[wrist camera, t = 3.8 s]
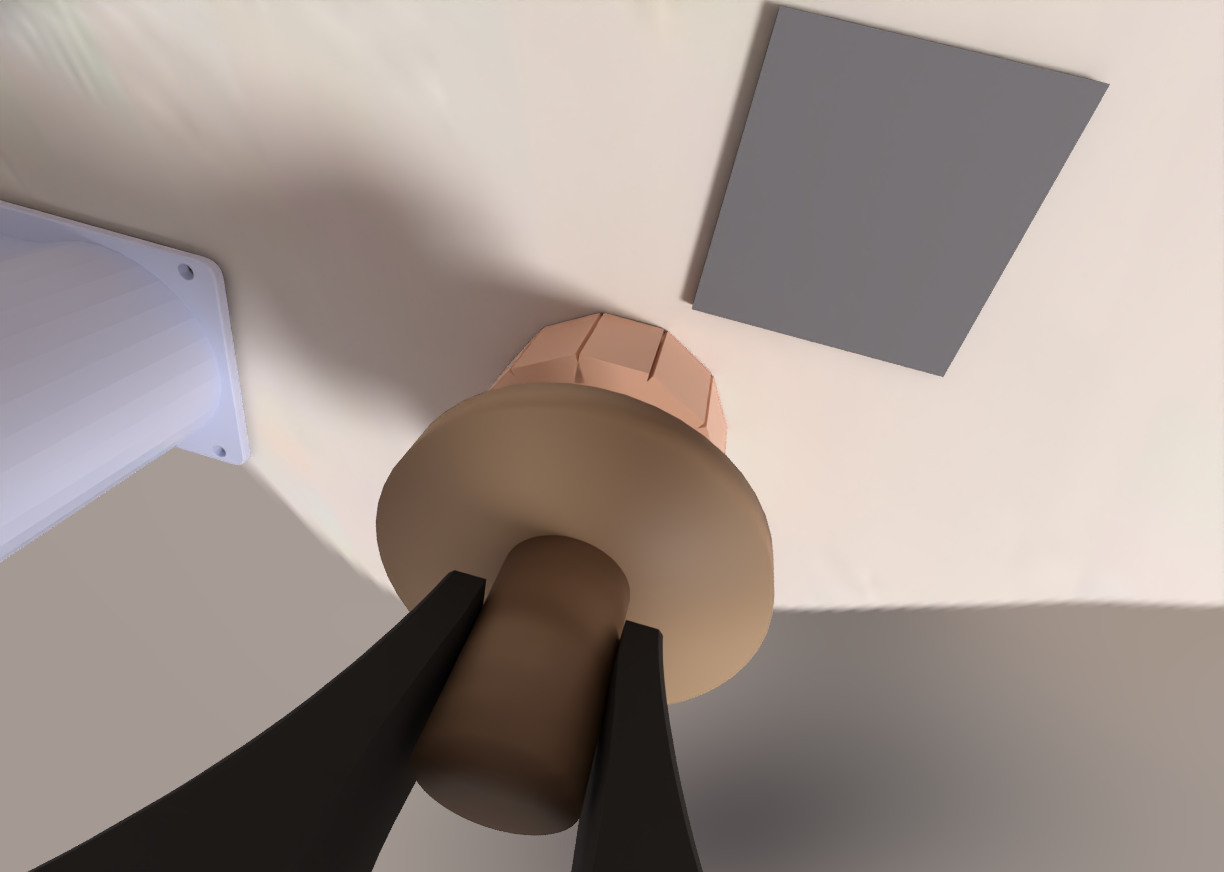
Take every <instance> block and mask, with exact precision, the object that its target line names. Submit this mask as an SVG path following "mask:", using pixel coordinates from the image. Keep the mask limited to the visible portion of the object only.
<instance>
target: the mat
mask: <svg viewBox="0 0 1224 872" xmlns="http://www.w3.org/2000/svg"><path fill="white" fill-rule="evenodd" d="M1109 85H1110V84H1107V83H1103V82H1099V81H1095V80H1090V79H1086V78H1082V77H1078V76H1074V75H1069V74H1065V73H1061V72H1057V71H1053V70H1048V69H1044V68H1040V67H1036V66H1032V65H1027V64H1023V63H1019V62H1015V61H1011V60H1007V59H1002V58H998V57H994V56H990V55H986V54H981V53H977V52H973V51H969V50H965V49H960V48H956V47H952V46H948V45H944V44H940V43H935V42H931V41H927V40H923V39H919V38H914V37H910V36H906V35H902V34H898V33H893V32H889V31H885V30H881V29H877V28H873V27H868V26H864V25H860V24H856V23H852V22H847V21H843V20H839V19H835V18H831V17H826V16H822V15H818V14H814V13H810V12H805V11H801V10H797V9H793V8H789V7H785V6H780V7H779V11H778V14H777V18H776V21H775V25H774V28H773V32H772V35H771V38H770V42H769V45H768V49H767V52H766V56H765V59H764V62H763V66H762V69H761V73H760V76H759V80H758V83H757V86H756V90H755V93H754V97H753V100H752V104H751V107H750V111H749V114H748V117H747V121H746V124H745V128H744V131H743V135H742V138H741V141H740V145H739V148H738V152H737V155H736V159H735V162H734V165H733V169H732V172H731V176H730V179H729V183H728V186H727V190H726V193H725V196H724V200H723V203H722V207H721V210H720V214H719V217H718V220H717V224H716V227H715V231H714V234H713V238H712V241H711V244H710V248H709V251H708V255H707V258H706V262H705V265H704V269H703V272H702V275H701V279H700V282H699V286H698V289H697V293H696V296H695V299H694V303H693V306H692V309H693V310H697V311H701V312H704V313H708V314H712V315H715V316H719V317H723V318H727V319H730V320H734V321H738V322H741V323H745V324H749V325H753V326H756V327H760V328H764V329H767V330H771V331H775V332H779V333H782V334H786V335H790V336H793V337H797V338H801V339H804V340H808V341H812V342H816V343H819V344H823V345H827V346H830V347H834V348H838V349H842V350H845V351H849V352H853V353H856V354H860V355H864V356H867V357H871V358H875V359H879V360H882V361H886V362H890V363H893V364H897V365H901V366H905V367H908V368H912V369H916V370H919V371H923V372H927V373H930V374H934V375H938V376H942V377H943V376H944V375H945V373H946V371H947V369H948V368H949V366H950V364H951V362H952V361H953V359H954V357H955V355H956V354H957V352H958V350H959V348H960V347H961V345H962V343H963V341H964V340H965V338H966V336H967V334H968V333H969V331H970V329H971V327H972V326H973V324H974V322H975V320H976V319H977V317H978V315H979V313H980V312H981V310H982V308H983V306H984V304H985V303H986V301H987V299H988V297H989V296H990V294H991V292H992V290H993V289H994V287H995V285H996V283H997V282H998V280H999V278H1000V276H1001V275H1002V273H1003V271H1004V269H1005V268H1006V266H1007V264H1008V262H1009V261H1010V259H1011V257H1012V255H1013V254H1014V252H1015V250H1016V248H1017V247H1018V245H1019V243H1020V241H1021V240H1022V238H1023V236H1024V234H1025V232H1026V231H1027V229H1028V227H1029V225H1030V224H1031V222H1032V220H1033V218H1034V217H1035V215H1036V213H1037V211H1038V210H1039V208H1040V206H1041V204H1042V203H1043V201H1044V199H1045V197H1046V196H1047V194H1048V192H1049V190H1050V189H1051V187H1052V185H1053V183H1054V182H1055V180H1056V178H1057V176H1058V175H1059V173H1060V171H1061V169H1062V168H1063V166H1064V164H1065V162H1066V161H1067V159H1068V157H1069V155H1070V153H1071V152H1072V150H1073V148H1074V146H1075V145H1076V143H1077V141H1078V139H1079V138H1080V136H1081V134H1082V132H1083V131H1084V129H1085V127H1086V125H1087V124H1088V122H1089V120H1090V118H1091V117H1092V115H1093V113H1094V111H1095V110H1096V108H1097V106H1098V104H1099V103H1100V101H1101V99H1102V97H1103V96H1104V94H1105V92H1106V90H1107V89H1108V87H1109Z"/></svg>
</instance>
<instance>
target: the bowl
mask: <svg viewBox="0 0 1224 872" xmlns="http://www.w3.org/2000/svg"><path fill="white" fill-rule="evenodd" d="M663 332H664V329H662V328H658V327H655V326H651V325H647V324H644V323H640V322H636V321H633V320H629V319H625V318H622V317H618V316H614V315H611V314H607V313H604V314H603V316H601V314H600V313H597V314H593V315H589V316H585V317H581V318H577V319H573V320H569V321H566V322H562V323H558V324H554V325H550V326H546V327H544V328H543V330H542V329H541V330H540V331H539V332H538V333H537V334H536V335H535V336H534V337H533V339H532V340H531V341H530V342H529V343H528V344H527V345H526V346H525V347H524V348H523V350H522V351H521V352H520V353H519V354H518V355H517V356H516V357H515V358H514V360H513V361H512V362H511V363H510V364H509V365H508V366H507V367H506V369H505V370H504V371H503V372H502V374H501V375H500V376H499V377H498V379H497V380H496V381H495V382H494V383H493V385H492V386H491V387H490V388H489V390H494V389H498V388H502V387H506V386H510V385H517V384H527V383H537V382H550V383H572V384H579V385H586V386H593V387H599V388H602V389H606V390H610V391H614V392H618V393H621V394H625V395H628V396H631V397H633V398H636V399H638V400H641V401H643V402H646V403H649V404H651V405H654V406H656V407H658V408H660V409H661V410H663V411H665V412H667V413H669V414H671V415H673V416H675V417H677V418H679V419H680V420H682V421H683V422H685V423H686V424H688V425H689V426H691V427H692V428H694V429H695V430H697V431H698V432H699V433H701V434H702V435H704V436H705V437H706V438H707V439H708V440H710V441H711V442H712V443H713V444H714V445H715V446H716V447H718V448H719V449H720V450H721V451H722V452H723V453H724V454H725V449H726V436H727V426H726V422H725V418H724V414H723V411H722V407H721V403H720V399H719V396H718V392H717V388H716V384H715V380H714V377H713V376H711V372H710V371H709V370H708V369H707V368H706V367H705V366H704V365H703V364H702V363H701V362H700V361H699V360H698V359H696V358H695V357H694V356H693V355H692V354H691V353H690V352H689V351H688V350H687V349H686V348H685V347H684V346H683V345H682V344H681V343H680V342H679V341H678V340H677V339H676V338H675V337H673V336H672V335H671V334H670V333H669V332H667V333H663ZM489 390H488V391H489Z"/></svg>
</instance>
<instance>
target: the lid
mask: <svg viewBox="0 0 1224 872" xmlns="http://www.w3.org/2000/svg"><path fill="white" fill-rule="evenodd" d="M376 533H377V543H378V547H379V552H380V556H381V560H382V563H383V565H384V568H385V570H386V573H387V576H388V578H389V580H390V582H391V583H392V585H393V587H394V589H395V591H396V593H397V594H398V596H399V597H400V599H401V600H402V602H403V603H404V605H405V606H406V607H407V609H408V610H409V611H411V610H412V609H414V608H415V607H416V606H417V605H418V604H419V603H420V602H421V601H422V600H423V599H424V598H425V597H426V596H427V595H428V594H429V593H430V592H431V591H432V590H433V589H434V588H435V587H436V586H437V584H438V583H439V582H440V581H441V580H442V579H443V578H444V577H445V576H446V575H447V574H448V573H449V572H451V571H454V570H456V571H460V572H463V573H467V574H470V575H474V576H477V577H481V578H484V579H486V586H485V595H484V604H483V606H482V608H481V610H480V613H479V615H478V617H477V619H476V621H475V623H474V625H473V627H472V629H471V631H470V633H469V635H468V637H467V640H466V642H465V644H464V646H463V648H462V650H461V652H460V654H459V656H458V658H457V660H456V662H455V664H454V667H453V669H452V671H451V673H450V675H449V677H448V679H447V681H446V683H445V685H444V687H443V689H442V691H441V694H440V696H439V698H438V700H437V702H436V704H435V706H434V708H433V710H432V712H431V714H430V716H429V718H428V721H427V723H426V725H425V727H424V729H423V731H422V733H421V735H420V737H419V739H418V741H417V743H416V745H415V747H414V750H413V752H412V754H411V758H410V767H411V771H412V773H413V775H414V778H415V779H416V781H417V782H418V784H419V785H420V786H421V787H422V788H423V789H424V791H426V793H428V794H429V796H431V797H432V798H433V799H434V800H436V801H437V802H438V803H440V804H441V805H442V806H444V807H445V808H447V809H449V810H450V811H452V812H454V813H455V814H457V815H459V816H461V817H463V818H466V819H467V820H470V821H472V822H474V823H477V824H480V825H483V826H485V827H488V828H492V829H495V830H499V831H504V832H508V833H514V834H522V835H548V834H554V833H558V832H561V831H564V830H567V829H568V828H570V827H572V826H573V825H574V824H575V823H576V822H577V821H578V819H579V818H580V815H581V812H582V808H583V803H584V799H585V795H586V790H587V786H588V781H589V777H590V773H591V768H592V764H593V759H594V755H595V751H596V746H597V742H598V737H599V733H600V729H601V724H602V720H603V715H604V710H605V705H606V699H607V694H608V688H609V684H610V679H611V675H612V671H613V666H614V662H615V658H616V653H617V649H618V644H619V640H620V637H621V634H622V630H623V627H624V624H625V621H626V620H629V621H632V622H636V623H639V624H642V625H646V626H649V627H653V628H656V629H659V630H660V632H661V633H662V635H663V666H664V679H665V689H666V698H667V705H669V704H673V703H678V702H682V701H684V700H687V699H691V698H693V697H696V696H699V695H701V694H704V693H706V692H708V691H710V690H712V689H714V688H716V687H718V686H719V685H721V684H722V683H724V682H725V681H727V680H728V679H730V678H731V677H733V676H734V675H735V674H736V673H737V672H738V671H740V670H741V669H742V668H743V667H744V666H745V665H746V664H747V663H748V662H749V661H750V659H751V658H752V657H753V655H754V654H755V653H756V652H757V650H758V649H759V647H760V645H761V643H762V641H763V639H764V638H765V636H766V634H767V631H768V628H769V624H770V621H771V618H772V614H773V603H774V567H773V549H772V539H771V534H770V530H769V526H768V523H767V519H766V515H765V513H764V511H763V509H762V507H761V505H760V502H759V500H758V498H757V496H756V494H755V492H754V491H753V489H752V488H751V486H750V485H749V483H748V482H747V480H746V479H745V477H744V476H743V474H742V473H741V472H740V471H739V470H738V468H737V467H736V466H735V465H734V464H733V463H732V462H731V460H730V459H729V458H728V457H727V456H726V455H725V454H724V453H723V452H722V451H721V450H720V449H719V448H718V447H716V446H715V445H714V444H713V443H712V442H711V441H710V440H708V439H707V438H706V437H705V436H704V435H702V434H701V433H699V432H698V431H697V430H695V429H694V428H692V427H691V426H689V425H688V424H686V423H685V422H683V421H682V420H680V419H679V418H677V417H675V416H673V415H671V414H669V413H667V412H665V411H663V410H661V409H660V408H658V407H656V406H654V405H651V404H649V403H646V402H643V401H641V400H638V399H636V398H633V397H631V396H628V395H625V394H621V393H618V392H614V391H610V390H606V389H602V388H599V387H593V386H586V385H579V384H572V383H550V382H537V383H527V384H517V385H510V386H506V387H502V388H498V389H494V390H489V391H486V392H484V393H481V394H479V395H476V396H474V397H471V398H468V399H466V400H464V401H462V402H461V403H459V404H457V405H456V406H454V407H452V408H450V409H449V410H447V411H446V412H444V413H443V414H442V415H441V416H440V417H439V418H437V419H436V420H435V421H434V422H433V423H431V424H430V425H429V427H428V428H427V429H426V430H425V431H424V432H423V434H422V435H421V436H420V437H419V438H418V440H417V441H416V442H415V443H414V444H413V446H412V447H411V448H410V449H409V450H408V452H407V453H406V454H405V455H404V456H403V458H402V459H401V460H400V461H399V462H398V463H397V465H396V466H395V467H394V468H393V470H392V472H391V473H390V475H389V477H388V479H387V481H386V483H385V484H384V487H383V490H382V493H381V496H380V499H379V502H378V508H377V517H376Z"/></svg>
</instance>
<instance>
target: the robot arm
mask: <svg viewBox="0 0 1224 872" xmlns="http://www.w3.org/2000/svg"><path fill="white" fill-rule="evenodd" d="M188 266H189V267H190V268H191V269H192V271H193V274H194V275H193V274H192V273H191V272H190V271H189V268H188ZM173 447H177V448H181V449H184V450H187V451H191V452H194V453H198V454H201V455H204V456H208V457H211V458H214V459H218V460H221V461H224V462H228V463H232V464H235V465H241V464H243V463H244V462H246V461H247V460H248V459H249V458H250V447H249V441H248V434H247V428H246V421H245V415H244V408H243V402H242V395H241V389H240V382H239V376H238V369H237V363H236V356H235V350H234V343H233V337H232V330H231V324H230V317H229V311H228V304H227V298H226V291H225V285H224V278H223V274H222V271H221V269H220V268H219V266H218V265H217V264H216V263H215V262H214V261H212V260H211V259H208V258H206V257H203V256H199V255H196V254H192V253H188V252H185V251H181V250H178V249H174V248H170V247H167V246H163V245H160V244H156V243H152V242H149V241H145V240H142V239H138V238H134V237H131V236H127V235H124V234H120V233H116V232H113V231H109V230H106V229H102V228H98V227H95V226H91V225H88V224H84V223H80V222H77V221H73V220H70V219H66V218H62V217H59V216H55V215H52V214H48V213H44V212H41V211H37V210H34V209H30V208H26V207H23V206H19V205H16V204H12V203H8V202H5V201H1V200H0V562H2V561H3V560H5V559H6V558H8V557H9V556H11V555H12V554H14V553H15V552H16V551H18V550H20V549H21V548H23V547H24V546H26V545H27V544H29V543H30V542H32V541H33V540H35V539H36V538H37V537H39V536H41V535H42V534H44V533H45V532H47V531H48V530H50V529H51V528H53V527H54V526H56V525H57V524H59V523H60V522H62V521H63V520H65V519H66V518H67V517H69V516H71V515H72V514H74V513H75V512H77V511H78V510H80V509H81V508H83V507H84V506H86V505H87V504H89V503H90V502H92V501H93V500H95V499H96V498H98V497H99V496H101V495H102V494H104V493H105V492H107V491H108V490H109V489H111V488H113V487H114V486H116V485H117V484H119V483H120V482H122V481H123V480H124V479H126V478H128V477H129V476H131V475H132V474H134V473H135V472H137V471H138V470H140V469H141V468H143V467H144V466H146V465H147V464H149V463H150V462H152V461H153V460H155V459H156V458H158V457H159V456H161V455H162V454H164V453H165V452H167V451H168V450H170V449H171V448H173ZM485 586H486V579H484V578H481V577H477V576H474V575H470V574H467V573H463V572H460V571H456V570H454V571H451V572H449V573H448V574H447V575H446V576H445V577H444V578H443V579H442V580H441V581H440V582H439V583H438V584H437V586H436V587H435V588H434V589H433V590H432V591H431V592H430V593H429V594H428V595H427V596H426V597H425V598H424V599H423V600H422V601H421V602H420V603H419V604H418V605H417V606H416V607H415V608H414V609H412V610H411V611H410V612H409V613H408V614H407V615H406V616H405V617H404V618H403V619H402V620H401V621H400V622H399V623H398V624H397V625H395V627H393V628H392V629H391V630H390V631H389V632H388V633H387V634H385V635H384V636H383V637H382V638H381V639H380V640H379V641H378V642H376V643H375V644H374V645H373V646H372V647H371V648H370V649H368V650H367V651H366V652H365V653H364V654H363V655H362V656H360V657H359V658H358V659H357V660H356V661H355V662H353V663H352V664H351V665H350V666H349V667H347V668H346V669H345V670H344V671H342V672H341V673H340V674H339V675H337V676H336V677H335V678H334V679H332V680H331V681H330V682H329V683H327V684H326V685H325V686H324V687H322V689H320V690H319V691H318V692H316V693H315V694H314V695H312V696H311V697H310V698H309V699H307V700H306V701H305V702H303V703H302V704H301V705H299V706H298V707H297V708H295V709H294V710H293V711H291V712H290V713H289V714H287V715H286V716H285V717H283V718H282V719H280V720H279V721H278V722H276V723H275V724H274V725H272V726H271V727H269V728H268V729H266V730H265V731H264V732H262V733H261V734H259V735H258V736H256V737H255V738H254V739H252V740H251V741H249V742H248V743H246V744H245V745H243V746H242V747H240V748H239V749H237V750H236V751H234V752H233V753H231V754H230V755H228V756H227V757H225V758H224V759H222V760H221V761H219V762H218V763H216V764H214V765H213V766H211V767H210V768H208V769H207V770H205V771H204V772H202V773H201V774H199V775H198V776H196V777H194V778H193V779H191V780H190V781H188V782H186V783H185V784H183V785H182V786H180V787H178V788H177V789H175V790H173V791H172V792H170V793H169V794H167V795H165V796H163V797H162V798H160V799H158V800H157V801H155V802H153V803H151V804H150V805H148V806H146V807H144V808H143V809H141V810H139V811H138V812H136V813H134V814H132V815H131V816H129V817H127V818H125V819H124V820H122V821H120V822H119V823H117V824H115V825H113V826H112V827H110V828H108V829H106V830H105V831H103V832H101V833H99V834H98V835H96V836H94V837H93V838H91V839H89V840H87V841H85V842H83V843H82V844H80V845H78V846H76V847H74V848H72V849H71V850H69V851H67V852H65V853H63V854H61V855H59V856H57V857H55V858H54V859H52V860H50V861H48V862H46V863H44V864H42V865H40V866H38V867H36V868H34V869H32V870H30V871H28V872H371V871H372V869H373V867H374V865H375V862H376V860H377V858H378V855H379V853H380V851H381V849H382V847H383V845H384V842H385V840H386V838H387V836H388V834H389V832H390V830H391V828H392V826H393V824H394V822H395V820H396V818H397V816H398V814H399V813H400V811H401V809H402V807H403V805H404V803H405V801H406V799H407V797H408V795H409V794H410V792H411V790H412V788H413V786H414V784H415V782H416V779H415V778H414V775H413V773H412V771H411V767H410V758H411V754H412V752H413V750H414V747H415V745H416V743H417V741H418V739H419V737H420V735H421V733H422V731H423V729H424V727H425V725H426V723H427V721H428V718H429V716H430V714H431V712H432V710H433V708H434V706H435V704H436V702H437V700H438V698H439V696H440V694H441V691H442V689H443V687H444V685H445V683H446V681H447V679H448V677H449V675H450V673H451V671H452V669H453V667H454V664H455V662H456V660H457V658H458V656H459V654H460V652H461V650H462V648H463V646H464V644H465V642H466V640H467V637H468V635H469V633H470V631H471V629H472V627H473V625H474V623H475V621H476V619H477V617H478V615H479V613H480V610H481V608H482V606H483V604H484V595H485ZM571 872H703V871H702V867H701V864H700V860H699V856H698V853H697V849H696V845H695V842H694V838H693V834H692V830H691V826H690V821H689V817H688V814H687V809H686V804H685V800H684V795H683V791H682V787H681V782H680V777H679V772H678V767H677V762H676V756H675V751H674V745H673V739H672V733H671V727H670V721H669V714H668V706H667V698H666V689H665V679H664V666H663V635H662V633H661V632H660V630H659V629H656V628H653V627H649V626H646V625H642V624H639V623H636V622H632V621H629V620H626V621H625V624H624V627H623V630H622V634H621V637H620V640H619V644H618V649H617V653H616V658H615V662H614V666H613V671H612V675H611V679H610V684H609V688H608V694H607V699H606V705H605V710H604V715H603V720H602V724H601V729H600V733H599V737H598V742H597V746H596V751H595V755H594V759H593V764H592V768H591V773H590V777H589V781H588V786H587V790H586V795H585V799H584V803H583V808H582V812H581V815H580V818H579V825H578V831H577V838H576V845H575V851H574V858H573V864H572V871H571Z"/></svg>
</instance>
